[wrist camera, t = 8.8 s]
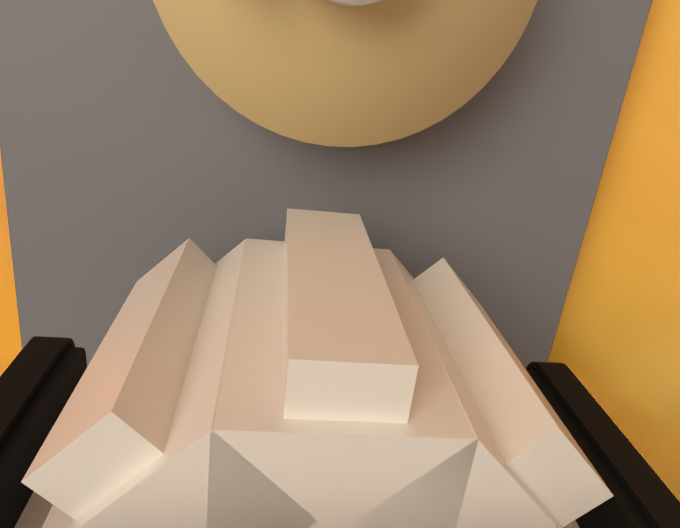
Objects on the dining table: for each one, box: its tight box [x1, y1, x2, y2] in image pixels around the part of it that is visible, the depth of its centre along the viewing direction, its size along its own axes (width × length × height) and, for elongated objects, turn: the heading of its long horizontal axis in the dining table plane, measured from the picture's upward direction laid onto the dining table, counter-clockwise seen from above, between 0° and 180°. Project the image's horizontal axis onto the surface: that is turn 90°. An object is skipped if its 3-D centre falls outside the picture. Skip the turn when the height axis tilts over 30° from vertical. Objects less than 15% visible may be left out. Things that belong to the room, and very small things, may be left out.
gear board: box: [0, 0, 652, 369], centre depth 11 cm, size 12×22×8 cm, turn 174°
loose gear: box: [14, 208, 613, 528], centre depth 9 cm, size 7×7×5 cm
